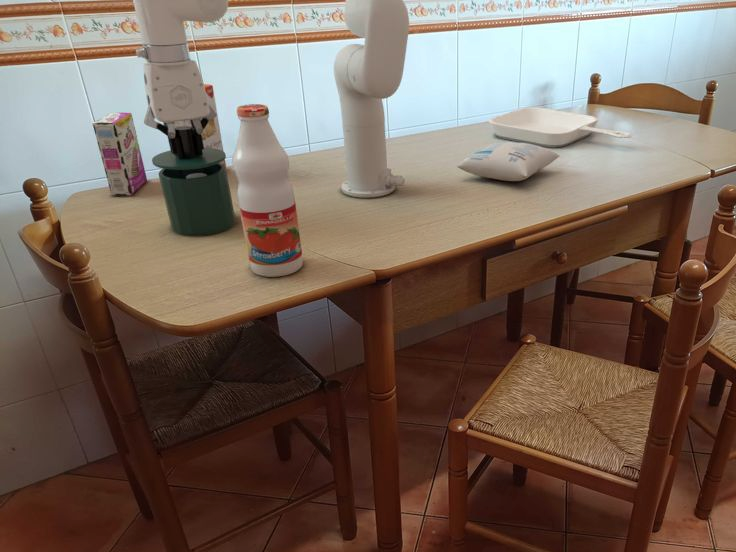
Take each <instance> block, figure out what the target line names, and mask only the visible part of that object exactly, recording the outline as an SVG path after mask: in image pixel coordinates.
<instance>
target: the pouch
mask: <svg viewBox="0 0 736 552" xmlns="http://www.w3.org/2000/svg"><path fill="white" fill-rule="evenodd" d="M559 157H561V155H560V154H559V153H557V152H555V151H553V150H551V149H549V148H548V147H543V146H538V145H533V144H527V143H522V142H517V141H497V142H494V143H492V144H489V145H487V146H486V147H483V148H481V149H479V150H477V151H476V152H474V153H472V154H470V155H469V156H467V157H466V158H464V159H463V160H462V161H460V162H459V163H458V164H457V165H456V166H455V167H456V168H458V169H460V170H462V171H464V172H466V173H468V174H472V175H475V176H478V177H482V178H486V179H492V180H498V181H505V182H520V181H521V182H522V181H524V180H527V179H528V178H530V177H531V176H533V175H534V174H536V173H538V172H539V171H541V170H542V169H544V168H546V167H547V166H548V165H549V166H550V165H551V164H552V163H553V162H554V161H556V160H557V159H558V158H559Z"/></svg>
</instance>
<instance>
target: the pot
mask: <svg viewBox="0 0 736 552" xmlns="http://www.w3.org/2000/svg"><path fill="white" fill-rule="evenodd" d="M226 168H227V166H226V167H225V166H224V165H223V164H221V163H218V164H215V165H212V166H208V167H204V168H199V169H191V170H171V169H163V168H160V170H159V171H158V178H159V183H160V186H161V190H162V194H163V198H164V201H165V202H164V203H165V206H166V211H167V214H168V219H169V222H170V227H171V229H172V231H173V232H174V233H176V234H178V235H182V236H185V237H186V236H188V237H202V236H210V235H215V234H220V233H222V232H225V231H227V230H229V229H231V228H232V227H234V226H235V223H236V214H235V210H234V204H233V200H232V193H231V188H230V184H229V179H228V178H229V177H228V172H227V169H226ZM194 173H203V174H206V175H207V176H205V177H198V178H188V179H186V176H187V175H190V174H194Z"/></svg>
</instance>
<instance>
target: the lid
mask: <svg viewBox="0 0 736 552" xmlns="http://www.w3.org/2000/svg"><path fill="white" fill-rule="evenodd" d="M175 134H176V137H178V138H179V141H180V146H181V150H182V155H183V158H182V159H179V158H177V157H176V156H175V155H174V154H172V153H171V150H170V149H169V150H167V151H164V152H163V151H162V152H161V153H158V154H156V155H154V156H153V157H152V158H151V163H152V165H153V166H154V167H156V168H158V169H171V170H191V169H199V168H204V167H208V166H212V165H215V164H218V163H220V162H222V161H224V160H225V161H226V159H227V158H226V157H227V155H226V153H225V151H224V150H223V151H224V152H223V151H222V150H219V149H214V148H204V149H203V150H202V152H203V155H198V154H197V149H196V144H195V140H194V135H193V130H192V127H191V126H180V127H176V128H175Z"/></svg>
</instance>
